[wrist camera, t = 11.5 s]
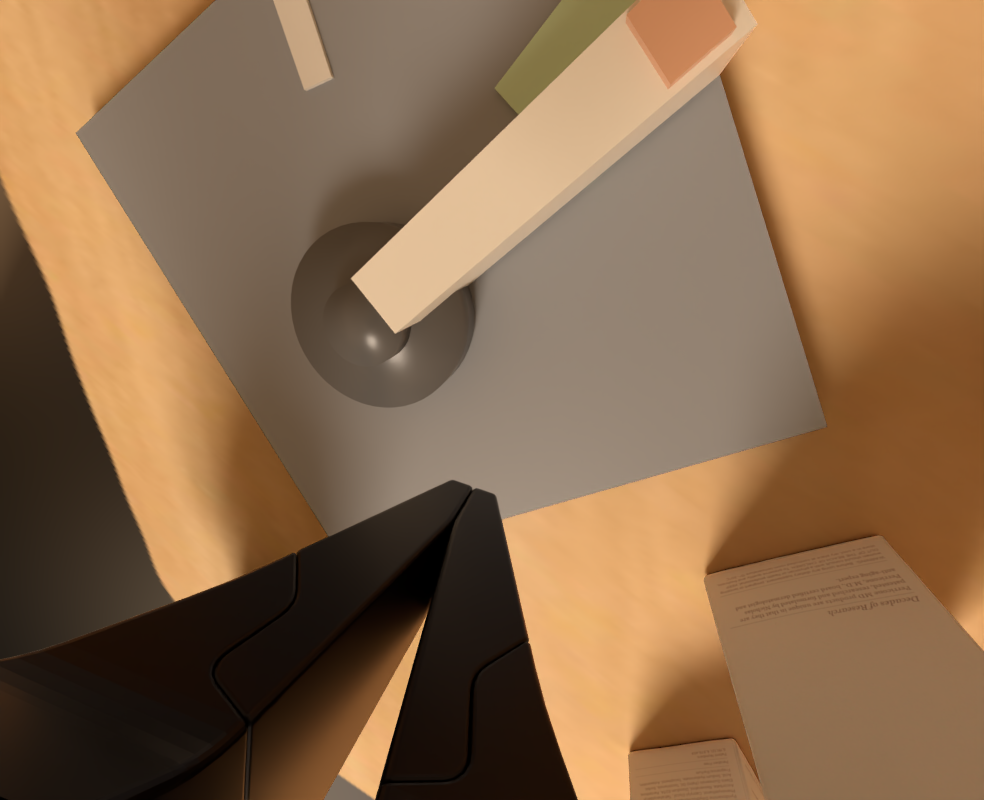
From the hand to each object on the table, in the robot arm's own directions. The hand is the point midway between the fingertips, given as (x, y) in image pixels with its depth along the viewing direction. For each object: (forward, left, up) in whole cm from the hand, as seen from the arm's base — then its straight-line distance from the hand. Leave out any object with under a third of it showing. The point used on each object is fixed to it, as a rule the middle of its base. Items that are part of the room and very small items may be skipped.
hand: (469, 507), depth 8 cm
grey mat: (-3, +5, -12) cm, 13 cm away
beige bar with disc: (0, +5, -11) cm, 12 cm away
